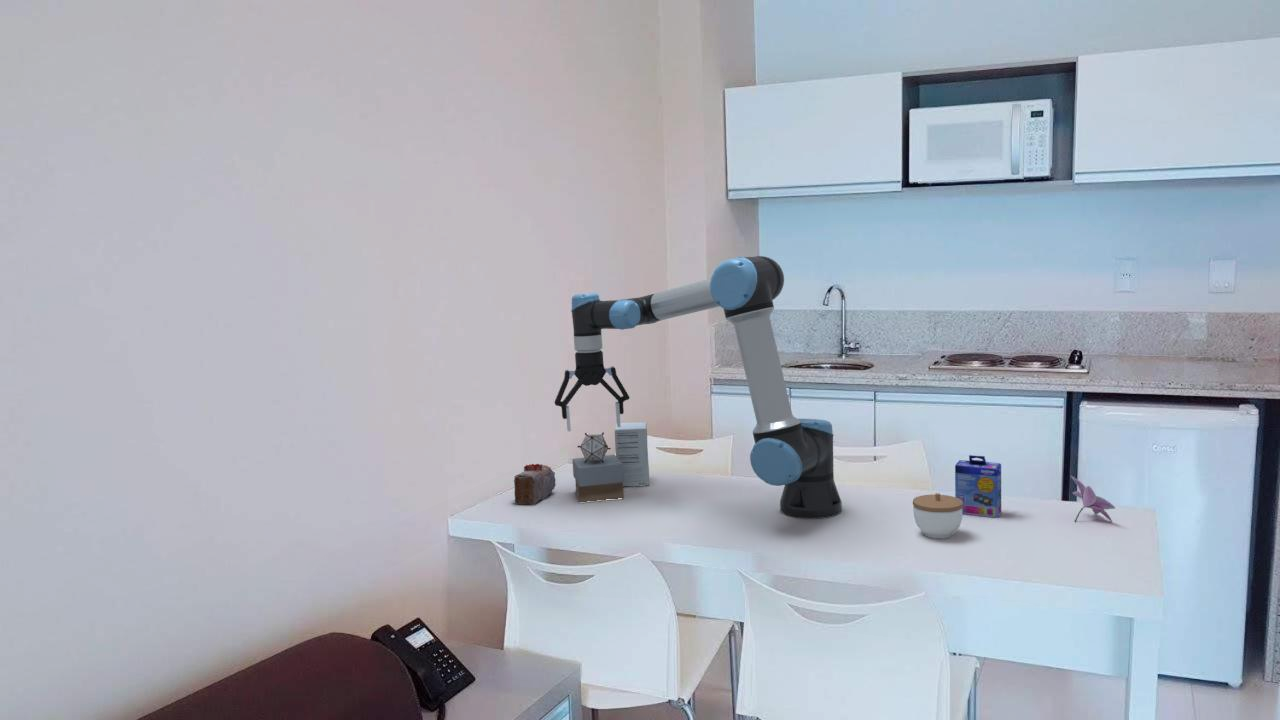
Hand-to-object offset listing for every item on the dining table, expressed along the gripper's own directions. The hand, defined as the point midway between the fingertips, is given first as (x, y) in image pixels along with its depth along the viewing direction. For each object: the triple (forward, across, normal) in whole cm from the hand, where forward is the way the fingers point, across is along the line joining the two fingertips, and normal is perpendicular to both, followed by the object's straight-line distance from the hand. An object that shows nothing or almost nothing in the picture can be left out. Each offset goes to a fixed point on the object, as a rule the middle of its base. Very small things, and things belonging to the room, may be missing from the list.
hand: (593, 428), depth 248 cm
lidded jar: (+20, -72, +56) cm, 93 cm away
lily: (+21, -109, +56) cm, 124 cm away
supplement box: (+19, -11, -11) cm, 25 cm away
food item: (+19, +17, -3) cm, 26 cm away
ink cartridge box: (+20, -88, +44) cm, 100 cm away
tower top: (+14, 0, -1) cm, 14 cm away
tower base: (+19, 0, -1) cm, 19 cm away
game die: (+10, 0, -1) cm, 10 cm away
